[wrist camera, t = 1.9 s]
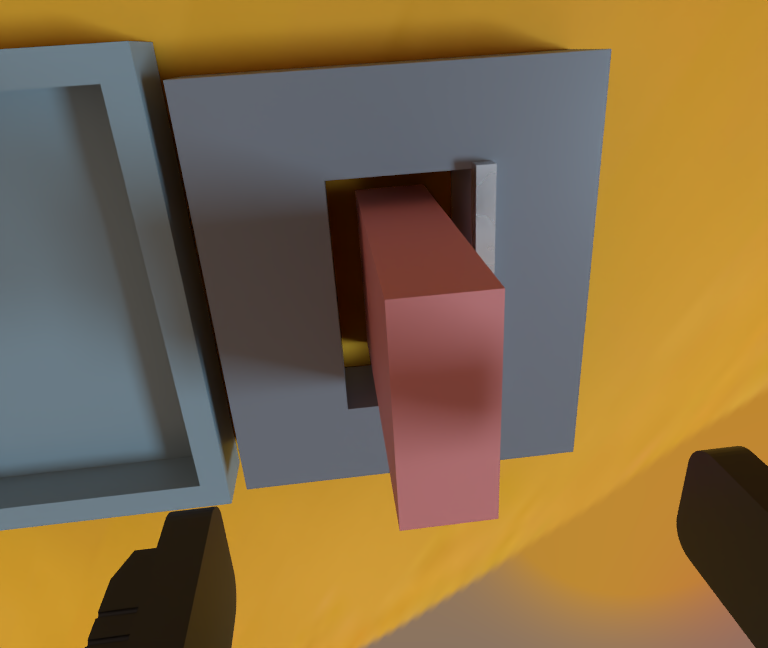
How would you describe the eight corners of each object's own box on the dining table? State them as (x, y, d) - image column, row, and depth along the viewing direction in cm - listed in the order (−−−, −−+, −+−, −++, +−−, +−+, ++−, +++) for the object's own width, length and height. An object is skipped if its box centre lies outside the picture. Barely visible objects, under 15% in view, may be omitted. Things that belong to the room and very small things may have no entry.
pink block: (422, 184, 21) (504, 288, 12) (427, 336, 23) (498, 518, 14) (355, 189, 20) (385, 299, 11) (367, 342, 23) (399, 530, 14)
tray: (152, 42, 18) (128, 40, 16) (239, 462, 25) (231, 503, 22) (-304, 71, 17) (-399, 74, 15) (-83, 498, 24) (-125, 545, 22)
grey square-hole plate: (570, 49, 19) (621, 48, 16) (545, 408, 25) (579, 461, 22) (185, 75, 18) (157, 81, 15) (254, 440, 24) (245, 500, 21)
